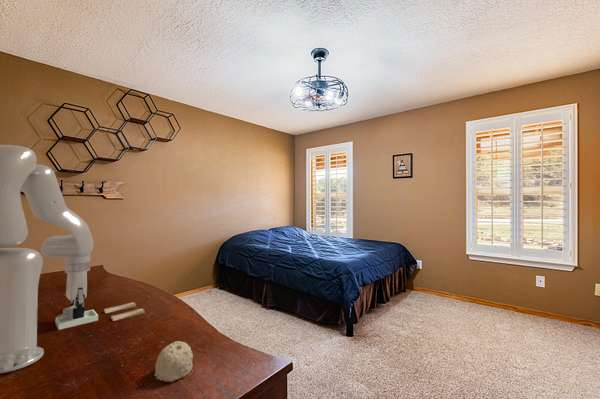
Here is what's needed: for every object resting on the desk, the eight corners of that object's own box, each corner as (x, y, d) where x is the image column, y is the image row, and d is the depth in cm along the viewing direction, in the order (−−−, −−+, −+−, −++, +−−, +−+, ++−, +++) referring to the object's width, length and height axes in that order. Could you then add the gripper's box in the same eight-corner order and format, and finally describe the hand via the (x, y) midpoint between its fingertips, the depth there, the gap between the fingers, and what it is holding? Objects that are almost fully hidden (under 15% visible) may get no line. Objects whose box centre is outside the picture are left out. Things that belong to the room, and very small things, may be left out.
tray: (98, 320, 109) (98, 314, 109) (58, 329, 101) (58, 324, 101) (93, 314, 114) (93, 309, 114) (55, 323, 106) (55, 317, 106)
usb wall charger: (83, 316, 108) (83, 305, 108) (63, 323, 101) (64, 312, 101) (74, 315, 109) (74, 304, 109) (55, 322, 102) (55, 311, 102)
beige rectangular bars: (144, 313, 116) (144, 310, 116) (113, 320, 108) (113, 318, 108) (133, 304, 126) (133, 302, 126) (103, 311, 118) (103, 308, 118)
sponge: (193, 384, 78) (201, 343, 83) (183, 382, 70) (192, 337, 76) (158, 384, 77) (168, 343, 83) (144, 382, 70) (156, 337, 75)
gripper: (61, 265, 111) (60, 312, 111) (69, 272, 99) (68, 325, 99) (85, 262, 116) (84, 307, 116) (95, 269, 105) (94, 319, 104)
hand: (76, 315), depth 107 cm, fingers closed on usb wall charger, 5 cm apart
